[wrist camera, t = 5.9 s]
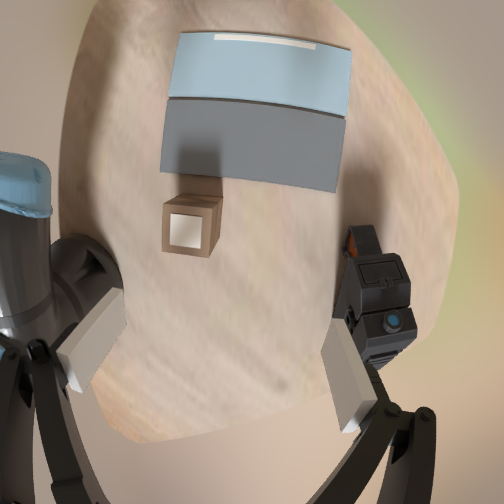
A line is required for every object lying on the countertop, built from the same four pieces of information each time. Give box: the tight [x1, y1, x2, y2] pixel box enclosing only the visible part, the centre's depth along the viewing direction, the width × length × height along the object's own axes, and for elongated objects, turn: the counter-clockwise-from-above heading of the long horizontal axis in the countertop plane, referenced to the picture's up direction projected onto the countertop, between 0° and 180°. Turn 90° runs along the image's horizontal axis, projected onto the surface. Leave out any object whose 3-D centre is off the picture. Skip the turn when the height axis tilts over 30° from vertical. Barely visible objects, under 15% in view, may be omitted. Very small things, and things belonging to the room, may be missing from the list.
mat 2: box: [160, 100, 346, 193], centre depth 29 cm, size 21×9×1 cm, turn 83°
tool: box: [333, 225, 418, 370], centre depth 31 cm, size 6×19×15 cm, turn 6°
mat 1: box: [168, 32, 352, 116], centre depth 26 cm, size 21×9×1 cm, turn 83°
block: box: [162, 193, 223, 258], centre depth 29 cm, size 5×5×7 cm
